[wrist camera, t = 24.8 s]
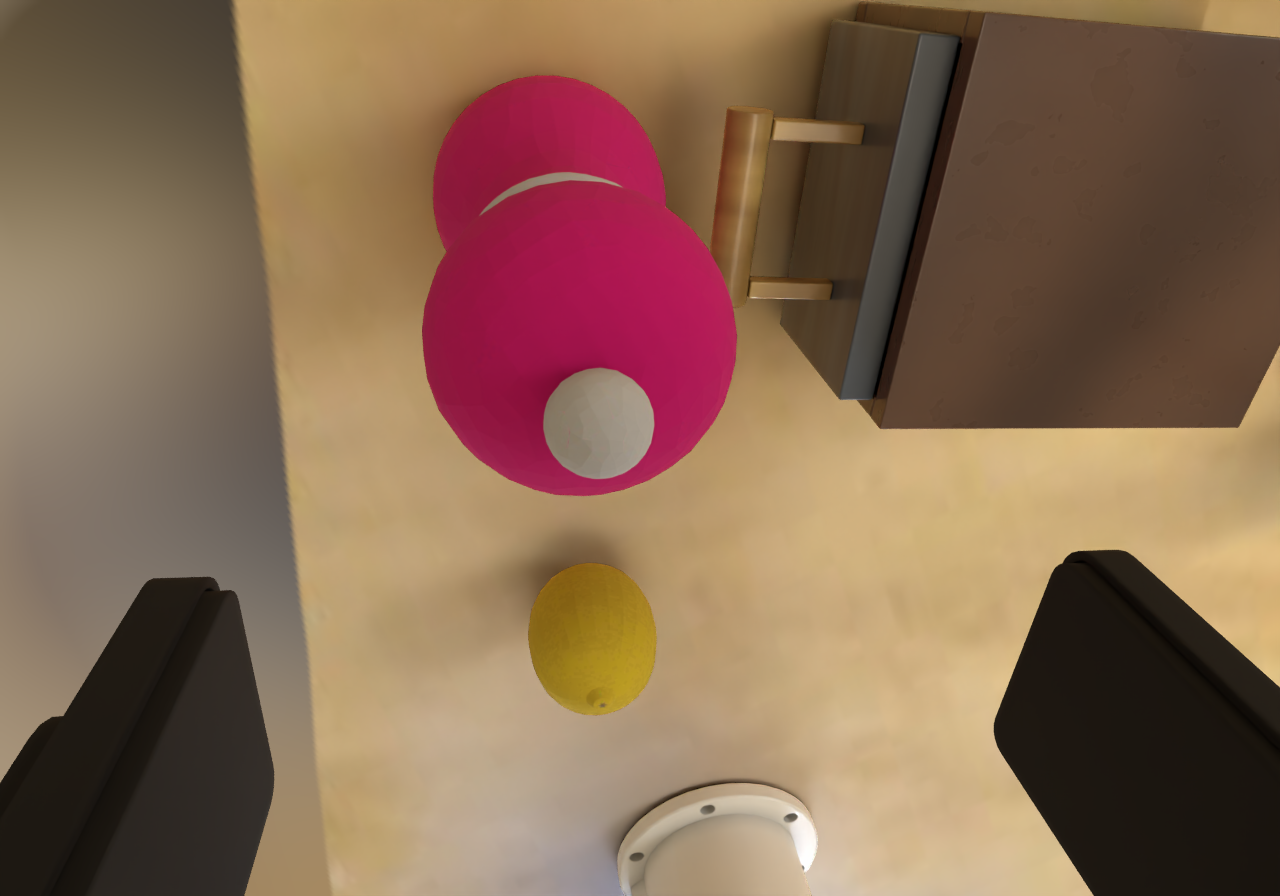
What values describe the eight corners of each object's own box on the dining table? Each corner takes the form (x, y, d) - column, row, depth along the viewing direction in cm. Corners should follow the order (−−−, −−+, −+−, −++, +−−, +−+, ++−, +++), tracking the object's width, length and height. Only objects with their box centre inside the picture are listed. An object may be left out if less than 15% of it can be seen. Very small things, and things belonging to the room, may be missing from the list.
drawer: (674, 322, 32) (712, 400, 26) (706, 8, 27) (763, 19, 21) (1059, 329, 35) (1170, 401, 29) (1159, 46, 29) (1321, 65, 24)
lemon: (535, 628, 40) (542, 763, 33) (518, 538, 37) (521, 666, 30) (645, 610, 41) (674, 740, 34) (637, 521, 38) (667, 642, 31)
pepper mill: (676, 208, 31) (897, 506, 14) (513, 304, 32) (528, 693, 15) (580, 19, 27) (716, 97, 10) (398, 132, 28) (237, 383, 11)
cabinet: (798, 330, 34) (879, 429, 27) (858, 1, 28) (985, 11, 21) (1089, 335, 36) (1239, 427, 29) (1203, 31, 30) (1428, 50, 23)
